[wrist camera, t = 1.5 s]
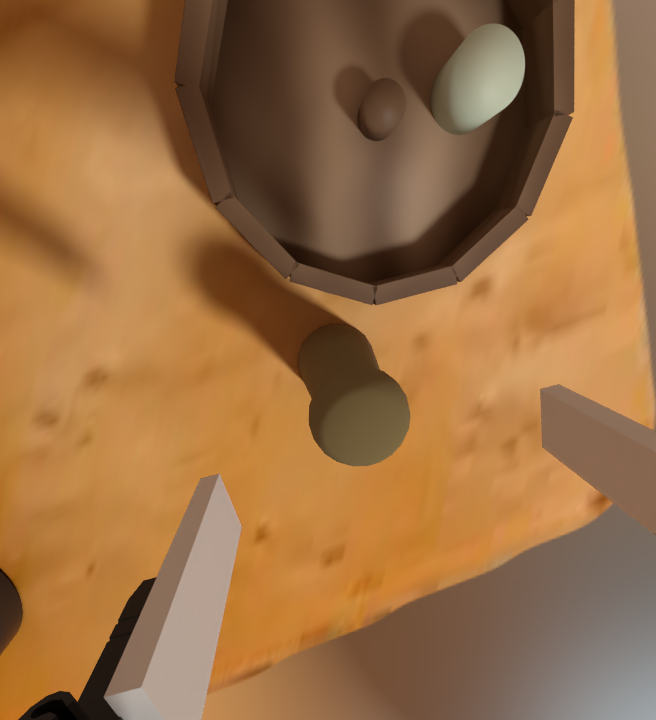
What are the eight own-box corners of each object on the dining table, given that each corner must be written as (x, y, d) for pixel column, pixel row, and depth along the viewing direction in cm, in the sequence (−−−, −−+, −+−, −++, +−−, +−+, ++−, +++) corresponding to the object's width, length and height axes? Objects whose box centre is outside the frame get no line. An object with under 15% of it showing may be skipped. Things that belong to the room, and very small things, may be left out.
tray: (259, 329, 24) (254, 340, 21) (133, -63, 17) (96, -138, 14) (539, 255, 25) (576, 255, 21) (527, -154, 18) (579, -246, 14)
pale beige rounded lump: (434, 141, 21) (457, 123, 18) (426, 66, 19) (449, 33, 17) (494, 126, 21) (526, 105, 18) (489, 50, 19) (523, 15, 17)
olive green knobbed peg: (292, 328, 24) (292, 381, 14) (371, 318, 25) (427, 362, 14) (303, 401, 26) (309, 495, 16) (376, 390, 27) (429, 476, 16)
